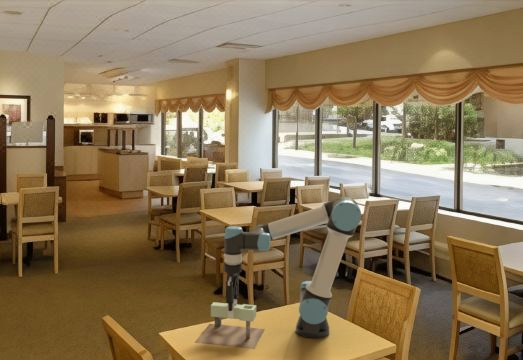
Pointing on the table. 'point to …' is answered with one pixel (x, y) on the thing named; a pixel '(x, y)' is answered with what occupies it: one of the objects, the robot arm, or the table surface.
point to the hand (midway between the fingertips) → (232, 315)
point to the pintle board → (230, 335)
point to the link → (240, 311)
